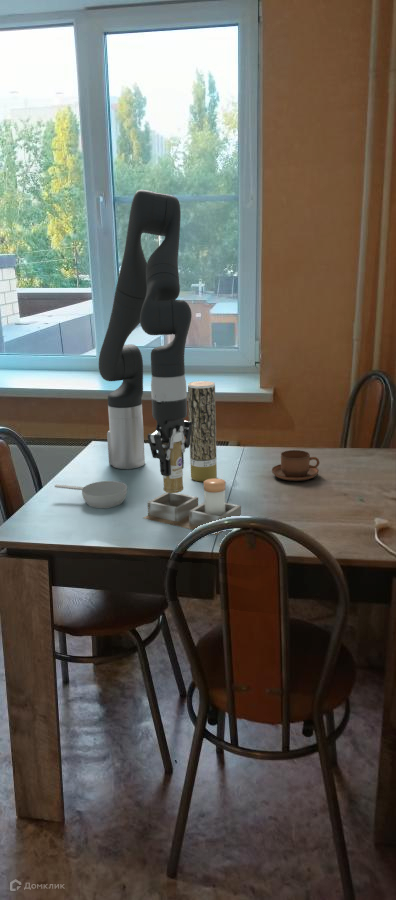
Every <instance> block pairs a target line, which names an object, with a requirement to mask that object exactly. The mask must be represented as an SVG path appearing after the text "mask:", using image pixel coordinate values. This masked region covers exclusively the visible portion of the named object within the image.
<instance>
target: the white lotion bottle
mask: <svg viewBox="0 0 396 900" xmlns="http://www.w3.org/2000/svg"><path fill="white" fill-rule="evenodd" d="M203 490H204V495H203V496H204V502H205V513H207V514H212V515H216V516H221V515H223V514H225V503H226V480H224V479H222V478H217V477H216V478H214V479H207V480H205V481H204V482H203Z"/></svg>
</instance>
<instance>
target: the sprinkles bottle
mask: <svg viewBox="0 0 396 900" xmlns="http://www.w3.org/2000/svg"><path fill="white" fill-rule="evenodd" d="M181 440H182V433H181V432H176V435H175V436H174V437H173V442H174V444H173V449H171V453H170V464H171V475H170V476H163V475H162V478H163V491H164V493H166V492H168V493H181V492H182V491H183V490H184V485H183V484H184V483H183V475H184V474H183V473H184V471H183V470H184V468H183V469H182V452H181ZM162 444H163V445H168V443H164V442H162ZM163 450H164V454H165V453H166V449H165V448H164V449H163Z"/></svg>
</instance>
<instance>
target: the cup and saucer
mask: <svg viewBox="0 0 396 900" xmlns="http://www.w3.org/2000/svg"><path fill="white" fill-rule="evenodd" d="M312 460H315V461H316V463H315V464H314V465H312V464H310V461H312ZM319 465H320V460H319V458H318V457H316V456H310V453H309V452H307V451H305V450H299V449H296V450H295V449H291V450H286V451H282V452H281V453H280V464H277V465H275V466H273V467H272V469H271V472H272V474H273V475H274V476H275V477H277V478H278V479H281V480H286V481H292V482H301V481H302V482H303V481H307V480H310V479H313V478H315V477H316V476H317V475H318V474H319V471H320V469H319V468H318V467H319Z"/></svg>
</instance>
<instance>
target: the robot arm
mask: <svg viewBox="0 0 396 900" xmlns="http://www.w3.org/2000/svg"><path fill="white" fill-rule="evenodd" d="M181 213H182V212H181V204H180V201H179V199H178V198H177V197H176V196H174V195H173V194H172V195H171V194H167V193H161V192H156V191H151V190H146V189H138V190H137V191H135V194H134V196H133V197H132V200H131V205H130V210H129V218H128V224H127V231H126V239H125V246H124V252H123V258H122V261H121V265H120V270H119V274H118V279H117V282H116V286H115V287H116V288H115V292H114V296H113V297H114V298H113V303H112V310H111V313H110V318H109V322H108V326H107V330H106V332H105V336H104V339H103V342H102V345H101V349H100V350H99V351H100V352H99V356H98V370H99V374H100V376H101V378H102V379H103V380H104V381H107V382H118V381H119V382H120V381H122V382H121V384H120V386H119V387H118V388H116V389H115V390H113V391H112V392H110V393H109V394H108V395H107V410H108V411H107V412H108V423H109V425H108V426H109V430H108V431H107V432H106V437H107V438H106V440H107V452H108V453H107V454H108V456H107V457H108V465H110V466H112V467H113V468H115V469H119V470H120V469H121V470H131V469H137V468H142V467H143V466H144V465H145V464H146V460H145V458H146V457H145V439H144V435H145V434H144V419H143V402H142V401H143V399H142V398H143V395H144V362H143V361H144V360H143V355H142V352H141V350H140V348H139V347H138V346H137V345H136V344H126V341H127V339H128V338H129V336H130V335H131V334H132V332H134V330H135V329H136V328H138V326H139V325H140V327H141V329H142V330H143V332H144V333H145V334H147V335H150V336H167V335H168V336H169V335H170V336H171V335H174V338H173V339H172V341H171V342H169V343H167V344H163V345H159V346H156V347H154V348H152V349H151V351H150V370H151V381H150V382H151V383H150V394H151V412H152V413H151V414H152V415H151V416H152V418H153V419H154V420H155V421H156V427H155V431H154V432H153V433H148V434H147V441H148V444H149V448H150V452H151V456H152V459H159V468H160V469H159V471H160V475H161V476H162V477H163V476H170V475H171V464H170V453H171V449H173V444H174V442H173V437H174V436H175V435H176V432H181V433H182V440H181V452H182V469H183V470H184V468H185V467H184V464H185V462H184V461H185V460H184V454H185V452H186V449H190V437H191V430H192V422H190V421H189V420H185V419H186V417H188V388H187V381H186V371H185V369H186V368H185V367H186V366H185V349H186V343H187V337H188V334H189V330H190V326H191V322H192V316H193V314H192V310H191V307H190V305H189V303H188V302H187V301H186V300H183V299H178V297H179V296H180V291H181V286H180V285H181V284H180V276H179V264H178V263H179V246H180V235H181V231H180V230H181V218H182V217H181ZM143 234H148V235H153V236H154V235H156V236H160V237H164V239H163V241H162V242H161V243H160V244H159V246H158V247H157V248H156V249H155V250H154V251H153V252H152V254H151V255H150V256H149V258H148V260H146V257H145V254H144V251H143V248H142V247H143V246H142V241H141V240H142V235H143ZM162 442H164V443H168V445H163V444H162ZM164 448H165V449H166V453H165V454H164V450H163V449H164Z"/></svg>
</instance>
